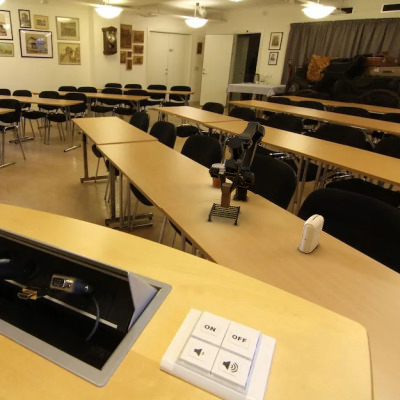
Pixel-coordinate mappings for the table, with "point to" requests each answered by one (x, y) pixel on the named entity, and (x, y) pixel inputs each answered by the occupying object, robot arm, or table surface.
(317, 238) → the photo printer
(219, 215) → the wire rack
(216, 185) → the disposable coffee cup
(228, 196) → the hanger post
